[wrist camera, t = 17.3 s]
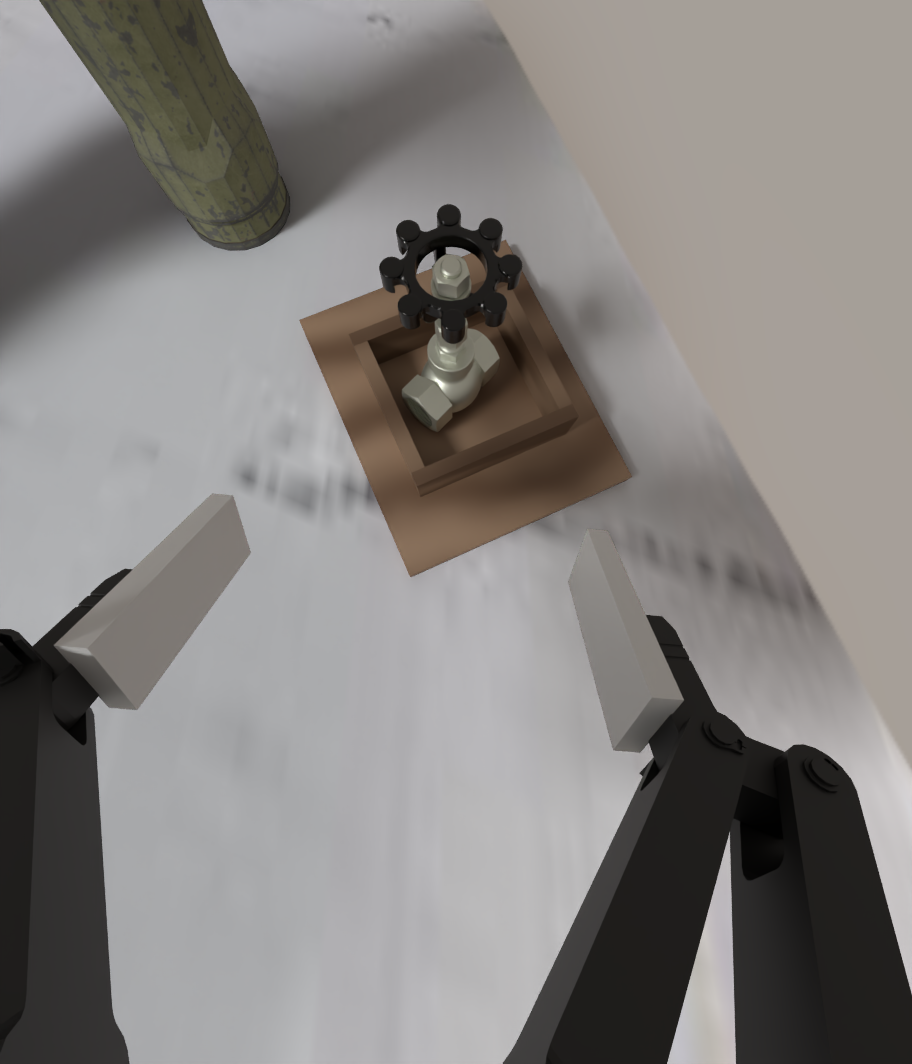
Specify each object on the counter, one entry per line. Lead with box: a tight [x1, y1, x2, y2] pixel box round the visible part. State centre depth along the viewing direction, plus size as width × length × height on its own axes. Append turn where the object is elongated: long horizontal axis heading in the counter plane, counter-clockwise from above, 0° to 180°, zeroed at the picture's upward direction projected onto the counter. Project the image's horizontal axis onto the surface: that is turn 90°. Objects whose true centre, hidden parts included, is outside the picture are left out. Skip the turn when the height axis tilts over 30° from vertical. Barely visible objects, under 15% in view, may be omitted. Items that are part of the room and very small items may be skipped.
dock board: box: [299, 240, 632, 577], centre depth 29 cm, size 22×18×4 cm
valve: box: [379, 204, 522, 432], centre depth 24 cm, size 7×7×12 cm
